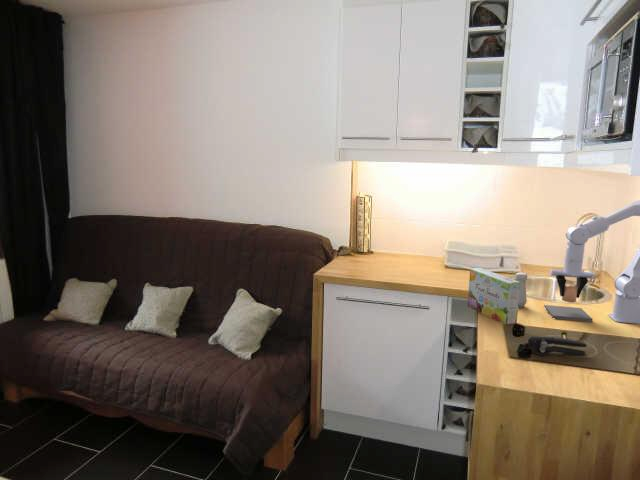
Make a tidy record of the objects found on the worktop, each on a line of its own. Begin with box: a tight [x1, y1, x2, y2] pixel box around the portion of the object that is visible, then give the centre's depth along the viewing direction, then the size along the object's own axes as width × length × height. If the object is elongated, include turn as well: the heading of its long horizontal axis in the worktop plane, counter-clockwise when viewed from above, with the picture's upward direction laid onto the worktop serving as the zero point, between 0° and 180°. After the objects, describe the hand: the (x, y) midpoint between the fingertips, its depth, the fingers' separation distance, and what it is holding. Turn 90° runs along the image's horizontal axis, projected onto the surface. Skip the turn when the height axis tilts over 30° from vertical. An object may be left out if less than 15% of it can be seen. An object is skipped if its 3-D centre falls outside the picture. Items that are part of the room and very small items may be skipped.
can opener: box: [522, 335, 588, 356], centre depth 145 cm, size 18×7×6 cm, turn 89°
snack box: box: [467, 267, 520, 326], centre depth 178 cm, size 21×6×15 cm, turn 21°
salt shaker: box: [514, 272, 528, 309], centre depth 190 cm, size 6×6×13 cm
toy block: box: [561, 283, 578, 303], centre depth 180 cm, size 5×5×6 cm
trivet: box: [543, 304, 593, 323], centre depth 182 cm, size 13×13×1 cm
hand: (569, 296), depth 181 cm, fingers closed on toy block, 5 cm apart
